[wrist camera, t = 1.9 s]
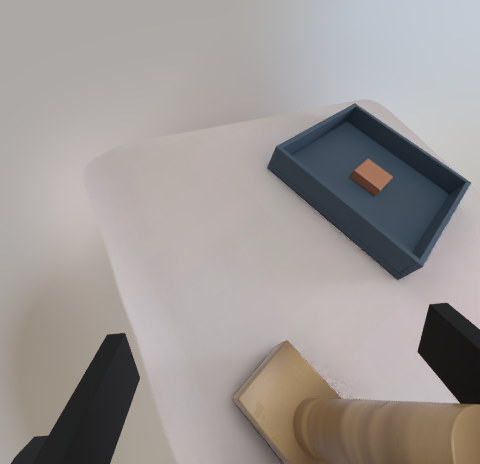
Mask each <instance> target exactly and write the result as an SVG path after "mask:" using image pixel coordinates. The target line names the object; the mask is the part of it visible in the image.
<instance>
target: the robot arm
mask: <svg viewBox="0 0 480 464" xmlns="http://www.w3.org/2000/svg"><path fill="white" fill-rule="evenodd" d="M418 353H419V354H420V355H421V357H422V358H423V359H424V360H425V361H426V363H427V364H428V365H429V366H430V367H431V369H432V370H433V371H434V372H435V373H436V375H437V376H438V377H439V378H440V379H441V381H442V382H443V383H444V384H445V385H446V387H447V388H448V389H449V390H450V391H451V393H452V394H453V395H454V396H455V397H456V399H457V400H458V401H459V402H460V403H461V404H479V405H480V329H478V328H477V327H476V326H475V325H474V324H472V323H471V322H470V321H469V320H467V319H466V318H465V317H464V316H463V315H461V314H460V313H459V312H458V311H456V310H455V309H454V308H453V307H452V306H450V305H449V304H448V303H440V304H430V305H429V308H428V312H427V316H426V320H425V324H424V328H423V332H422V336H421V340H420V344H419V348H418ZM139 379H140V376H139V373H138V370H137V367H136V364H135V362H134V358H133V355H132V352H131V349H130V347H129V343H128V340H127V338H126V334H125V333H120V334H109V335H107V336H106V338H105V339H104V341H103V343H102V344H101V346H100V348H99V350H98V351H97V353H96V355H95V357H94V358H93V360H92V362H91V363H90V365H89V367H88V369H87V370H86V372H85V374H84V376H83V377H82V379H81V381H80V382H79V384H78V386H77V388H76V389H75V391H74V393H73V394H72V396H71V398H70V400H69V401H68V403H67V405H66V406H65V409H64V410H63V412H62V413H61V415H60V417H59V419H58V420H57V422H56V424H55V425H54V427H53V429H52V431H51V432H50V434H49V436H39V437H34V438H33V439H32V440H31V441H30V442H29V443H28V444H27V445H26V446H25V447H24V448H23V449H22V451H20V453H19V454H18V455H17V456H16V457H15V458H14V460H13V461H12V463H11V464H110V462H111V459H112V456H113V454H114V451H115V448H116V445H117V442H118V439H119V437H120V434H121V431H122V428H123V425H124V422H125V419H126V416H127V414H128V411H129V408H130V405H131V402H132V399H133V397H134V393H135V391H136V388H137V385H138V382H139Z"/></svg>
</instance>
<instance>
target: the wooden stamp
mask: <svg viewBox="0 0 480 464" xmlns="http://www.w3.org/2000/svg"><path fill="white" fill-rule="evenodd" d="M232 399H233V401H234V402H235V403H236V404H237V406H238V407H239V408H240V409H241V411H242V412H243V413H244V414H245V416H246V417H247V418H248V419H249V421H250V422H251V423H252V424H253V426H254V427H255V428H256V429H257V431H258V432H259V433H260V434H261V436H262V437H263V438H264V439H265V441H266V442H267V443H268V444H269V446H270V447H271V448H272V449H273V451H274V452H275V453H276V454H277V456H278V457H279V458H280V459H281V460H282V462H283V463H284V464H480V405H479V404H457V403H432V402H407V401H382V400H357V399H342V398H341V397H340V396H339V395H338V394H337V393H336V392H335V391H334V390H333V389H332V388H331V387H330V385H329V384H328V383H327V382H326V381H325V380H324V379H323V378H322V377H321V376H320V375H319V374H318V373H317V372H316V371H315V369H314V368H313V367H312V366H311V365H310V364H309V363H308V362H307V361H306V360H305V359H304V358H303V357H302V356H301V354H300V353H299V352H298V351H297V350H296V349H295V348H294V347H293V346H292V345H291V344H290V343H289V342H288V341H287V340H286V341H284V342H282V343H280V344H278V345H277V346H276V347H275V348H274V349H273V350H272V351H271V353H270V354H269V355H268V356H267V357H266V358H265V360H264V361H263V362H262V363H261V364H260V366H259V367H258V368H257V369H256V370H255V371H254V373H253V374H252V375H251V376H250V377H249V378H248V380H247V381H246V382H245V383H244V384H243V386H242V387H241V388H240V389H239V390H238V391H237V393H236V394H235V395H234V396H233V397H232Z"/></svg>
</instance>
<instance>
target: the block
mask: <svg viewBox="0 0 480 464" xmlns="http://www.w3.org/2000/svg"><path fill="white" fill-rule="evenodd" d="M349 177H350V178H352V179H353V180H354V181H355V182H357V183H358V184H359V185H361V186H362V187H363V188H364V189H366V190H367V191H368V192H370V193H371V194H372V195H373V196H376V195H377V194H378V193H379V192H380V191H381V190H382V189H383V188H384V187H385V185H386V184H387V183H388V182H389V181H390V180H391V179H392V178H393V176H391V175H390V174H389V173H387V172H386V171H385V170H383V169H382V168H380V167H379V166H378V165H376V164H375V163H374V162H372V161H371V160H370V159H367V160H366V161H365V162H363V163H362V164H361V165H360V166H359V167H357V168H356V169H355V170H354V171H353V172H352V174H351V175H350V176H349Z"/></svg>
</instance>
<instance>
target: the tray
mask: <svg viewBox="0 0 480 464" xmlns="http://www.w3.org/2000/svg"><path fill="white" fill-rule="evenodd" d="M367 159H370V160H371V161H372V162H374V163H375V164H376V165H378V166H379V167H380V168H382V169H383V170H385V171H386V172H387V173H389V174H390V175H391V176H393V178H392V179H391V180H390V181H389V182H388V183H387V184H386V185H385V187H384V188H383V189H382V190H381V191H380V192H379V193H378V194H377V195H376V196H373V195H372V194H371V193H370V192H368V191H367V190H366V189H364V188H363V187H362V186H361V185H359V184H358V183H357V182H355V181H354V180H353V179H352V178H350V177H349V176H350V175H351V174H352V172H353V171H354V170H355V169H356V168H357V167H359V166H360V165H361V164H362V163H363V162H365V161H366V160H367ZM268 169H270V170H271V171H272V172H273V173H274V174H275V175H277V176H278V177H279V178H280V179H281V180H282V181H284V182H285V183H286V184H287V185H288V186H289V187H291V188H292V189H293V190H294V191H295V192H296V193H298V194H299V195H300V196H301V197H302V198H303V199H305V200H306V201H307V202H308V203H309V204H310V205H312V206H313V207H314V208H315V209H316V210H317V211H319V212H320V213H321V214H322V215H323V216H324V217H326V218H327V219H328V220H329V221H330V222H331V223H333V224H334V225H335V226H336V227H337V228H338V229H340V230H341V231H342V232H343V233H344V234H345V235H347V236H348V237H349V238H350V239H351V240H352V241H354V242H355V243H356V244H357V245H358V246H359V247H361V248H362V249H363V250H364V251H365V252H366V253H368V254H369V255H370V256H371V257H372V258H373V259H375V260H376V261H377V262H378V263H379V264H380V265H382V266H383V267H384V268H385V269H386V270H387V271H389V272H390V273H391V274H392V275H393V276H394V277H396V278H397V279H398V280H399V279H401V278H403V277H404V276H406V275H408V274H410V273H412V272H414V271H416V270H418V269H420V268H422V267H423V266H424V264H425V262H426V261H427V259H428V257H429V255H430V254H431V252H432V250H433V248H434V247H435V245H436V243H437V242H438V240H439V238H440V236H441V235H442V233H443V231H444V229H445V228H446V226H447V224H448V222H449V221H450V219H451V217H452V215H453V214H454V212H455V210H456V208H457V207H458V205H459V203H460V202H461V200H462V198H463V196H464V195H465V193H466V191H467V189H468V188H469V186H470V184H471V182H469V181H468V180H466V179H465V178H463V177H462V176H461V175H459V174H458V173H456V172H455V171H453V170H452V169H450V168H449V167H447V166H446V165H444V164H443V163H441V162H440V161H439V160H437V159H436V158H434V157H433V156H431V155H430V154H428V153H427V152H425V151H424V150H422V149H421V148H419V147H418V146H417V145H415V144H414V143H412V142H411V141H409V140H408V139H406V138H405V137H403V136H402V135H400V134H399V133H397V132H396V131H395V130H393V129H392V128H390V127H389V126H387V125H386V124H384V123H383V122H381V121H380V120H378V119H377V118H375V117H374V116H373V115H371V114H370V113H368V112H367V111H365V110H364V109H362V108H361V107H359V106H358V105H356V104H353V105H351V106H349V107H347V108H346V109H344V110H342V111H340V112H338V113H336V114H335V115H333V116H331V117H329V118H327V119H325V120H324V121H322V122H320V123H318V124H316V125H315V126H313V127H311V128H309V129H307V130H305V131H304V132H302V133H300V134H298V135H296V136H295V137H293V138H291V139H289V140H287V141H285V142H284V143H282V144H280V145H278V146H276V148H275V150H274V153H273V155H272V158H271V160H270V163H269V165H268Z"/></svg>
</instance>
